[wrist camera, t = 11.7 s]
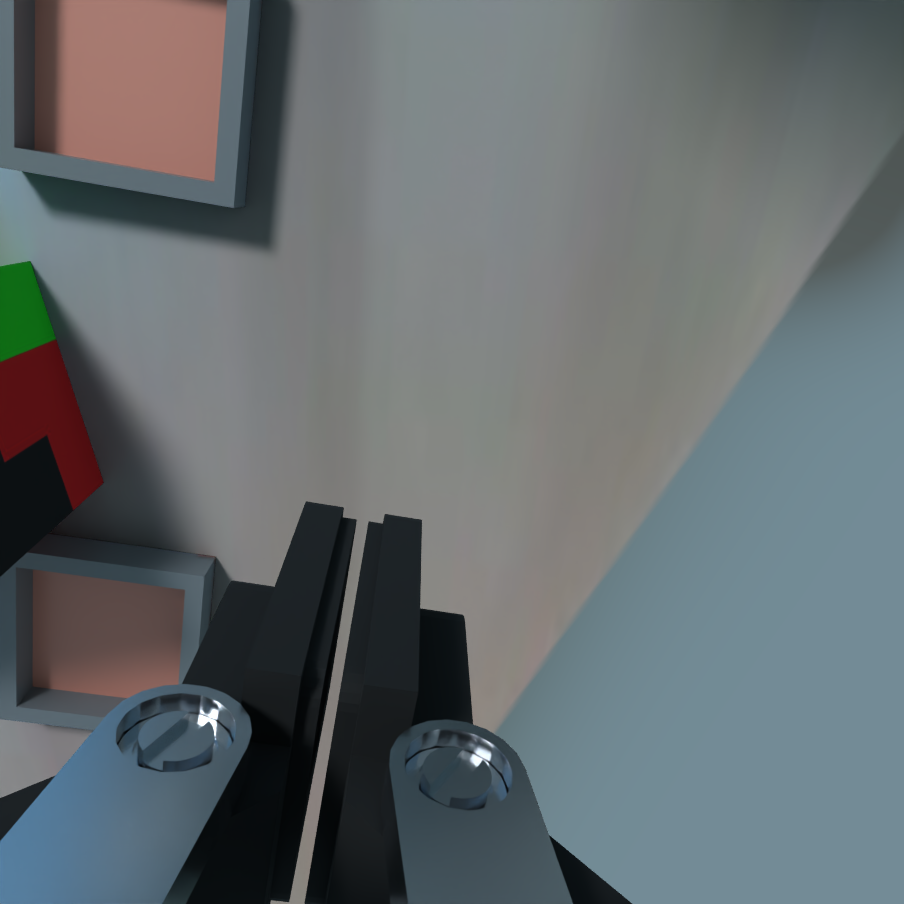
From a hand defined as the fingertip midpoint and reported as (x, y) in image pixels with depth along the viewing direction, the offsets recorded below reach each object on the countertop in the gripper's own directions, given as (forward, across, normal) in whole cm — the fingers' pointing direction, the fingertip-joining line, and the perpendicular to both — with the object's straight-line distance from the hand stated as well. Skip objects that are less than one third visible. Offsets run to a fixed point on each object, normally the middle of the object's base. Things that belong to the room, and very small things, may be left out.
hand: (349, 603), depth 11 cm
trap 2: (+24, +12, -7) cm, 28 cm away
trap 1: (+24, +11, +18) cm, 31 cm away
